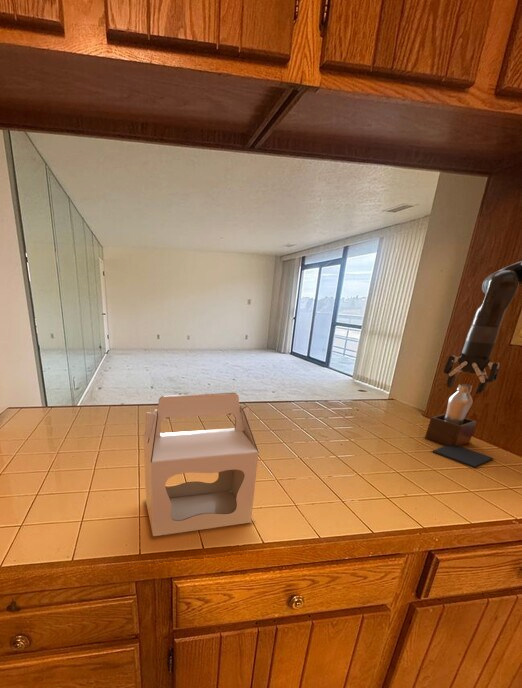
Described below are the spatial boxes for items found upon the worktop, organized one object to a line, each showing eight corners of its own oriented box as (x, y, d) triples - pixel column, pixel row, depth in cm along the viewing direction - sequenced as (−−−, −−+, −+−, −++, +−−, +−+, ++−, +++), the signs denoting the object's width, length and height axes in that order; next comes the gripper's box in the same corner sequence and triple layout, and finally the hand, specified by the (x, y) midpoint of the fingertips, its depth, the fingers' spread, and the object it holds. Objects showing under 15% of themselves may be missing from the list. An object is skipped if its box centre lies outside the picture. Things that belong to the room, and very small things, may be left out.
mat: (451, 445, 118) (452, 443, 118) (492, 459, 109) (493, 457, 109) (432, 452, 113) (432, 450, 113) (474, 467, 103) (474, 466, 103)
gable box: (232, 491, 88) (240, 384, 77) (252, 522, 76) (265, 401, 65) (144, 501, 83) (140, 388, 72) (151, 537, 71) (147, 408, 60)
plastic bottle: (436, 435, 126) (453, 381, 119) (458, 439, 123) (477, 385, 115) (434, 440, 122) (452, 385, 114) (458, 445, 118) (478, 389, 110)
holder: (440, 433, 128) (447, 412, 125) (469, 442, 121) (477, 421, 118) (424, 438, 124) (431, 417, 120) (453, 448, 116) (461, 426, 113)
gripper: (513, 343, 105) (493, 394, 111) (461, 337, 116) (446, 384, 122) (502, 344, 101) (482, 397, 108) (449, 338, 113) (435, 386, 119)
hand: (463, 390), depth 115 cm, fingers open, 8 cm apart
